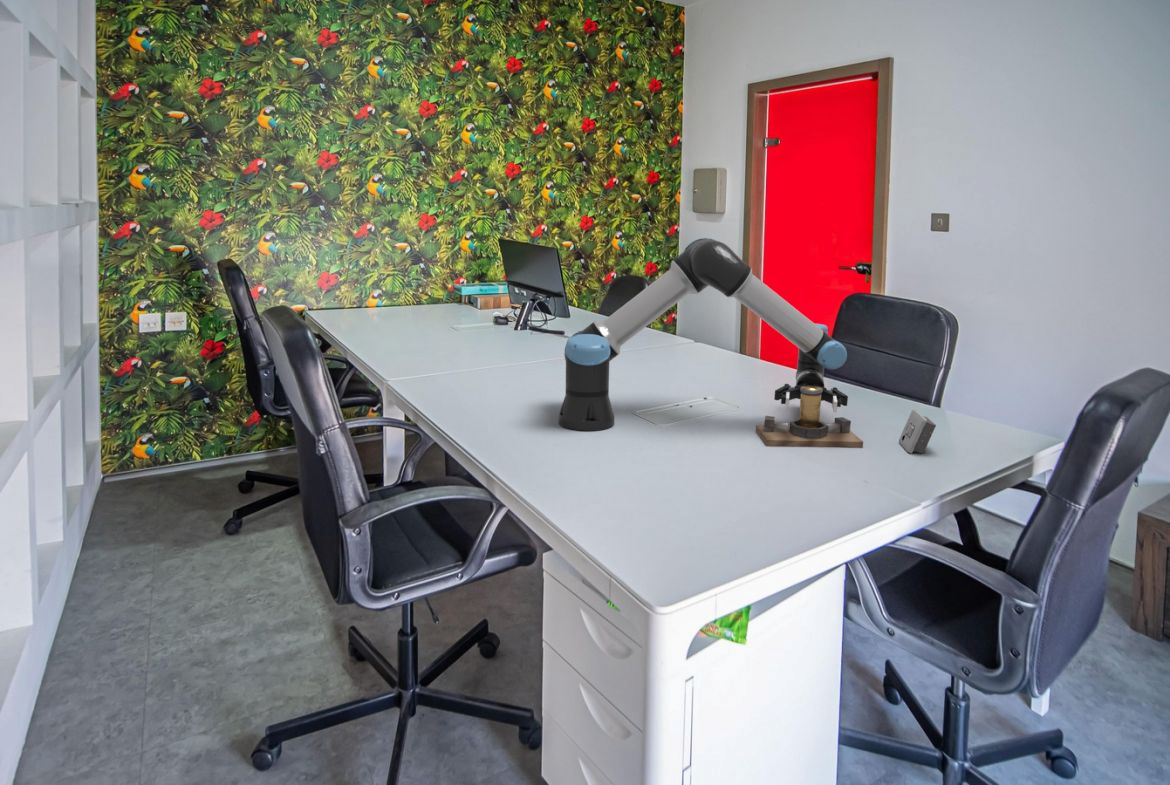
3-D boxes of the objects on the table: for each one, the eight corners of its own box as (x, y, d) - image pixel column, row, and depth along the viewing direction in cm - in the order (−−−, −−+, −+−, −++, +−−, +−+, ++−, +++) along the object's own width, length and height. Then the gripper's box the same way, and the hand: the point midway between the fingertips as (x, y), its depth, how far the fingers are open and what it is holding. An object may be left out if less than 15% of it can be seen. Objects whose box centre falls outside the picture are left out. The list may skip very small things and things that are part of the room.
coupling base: (766, 445, 193) (768, 427, 192) (755, 430, 206) (756, 413, 205) (862, 447, 193) (864, 429, 192) (845, 432, 206) (847, 415, 205)
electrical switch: (897, 442, 198) (905, 408, 196) (918, 445, 198) (926, 410, 195) (908, 454, 189) (916, 418, 187) (929, 457, 188) (938, 421, 186)
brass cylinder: (794, 433, 199) (797, 388, 196) (801, 429, 203) (804, 384, 200) (815, 437, 196) (818, 391, 193) (822, 432, 200) (825, 387, 197)
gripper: (853, 402, 212) (858, 423, 191) (765, 395, 218) (762, 415, 197) (855, 375, 210) (861, 394, 190) (767, 369, 216) (764, 387, 195)
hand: (811, 405), depth 193 cm, fingers open, 11 cm apart
